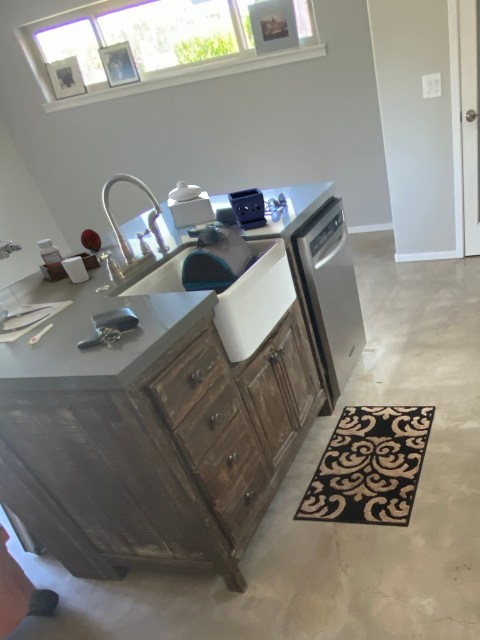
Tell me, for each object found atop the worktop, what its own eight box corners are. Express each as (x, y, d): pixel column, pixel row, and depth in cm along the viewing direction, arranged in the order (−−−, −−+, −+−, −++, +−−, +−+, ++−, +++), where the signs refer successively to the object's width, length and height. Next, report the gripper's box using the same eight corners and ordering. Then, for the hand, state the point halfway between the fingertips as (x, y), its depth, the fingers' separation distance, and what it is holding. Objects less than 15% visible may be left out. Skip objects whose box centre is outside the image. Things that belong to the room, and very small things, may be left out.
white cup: (85, 282, 182) (75, 261, 177) (67, 284, 182) (56, 263, 178) (94, 275, 187) (84, 255, 182) (76, 277, 187) (66, 257, 183)
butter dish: (213, 212, 242) (200, 173, 232) (215, 220, 229) (203, 179, 219) (175, 220, 240) (161, 180, 229) (176, 229, 227) (161, 187, 216)
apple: (108, 248, 215) (99, 227, 210) (92, 254, 211) (82, 232, 206) (98, 247, 219) (89, 226, 213) (82, 252, 214) (72, 231, 209)
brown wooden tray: (52, 281, 187) (46, 270, 185) (44, 277, 193) (38, 266, 190) (100, 266, 196) (94, 254, 193) (91, 262, 201) (86, 251, 198)
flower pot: (271, 225, 211) (263, 192, 203) (239, 232, 208) (230, 199, 200) (265, 219, 220) (258, 187, 212) (235, 225, 218) (226, 193, 210)
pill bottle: (56, 271, 194) (39, 239, 187) (71, 269, 194) (55, 237, 186) (48, 276, 190) (31, 244, 182) (64, 274, 189) (47, 242, 182)
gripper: (-46, 255, 176) (-7, 249, 176) (-14, 239, 192) (22, 234, 191) (-33, 274, 181) (5, 269, 180) (-4, 257, 196) (31, 252, 195)
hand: (14, 251), depth 186 cm, fingers open, 8 cm apart
